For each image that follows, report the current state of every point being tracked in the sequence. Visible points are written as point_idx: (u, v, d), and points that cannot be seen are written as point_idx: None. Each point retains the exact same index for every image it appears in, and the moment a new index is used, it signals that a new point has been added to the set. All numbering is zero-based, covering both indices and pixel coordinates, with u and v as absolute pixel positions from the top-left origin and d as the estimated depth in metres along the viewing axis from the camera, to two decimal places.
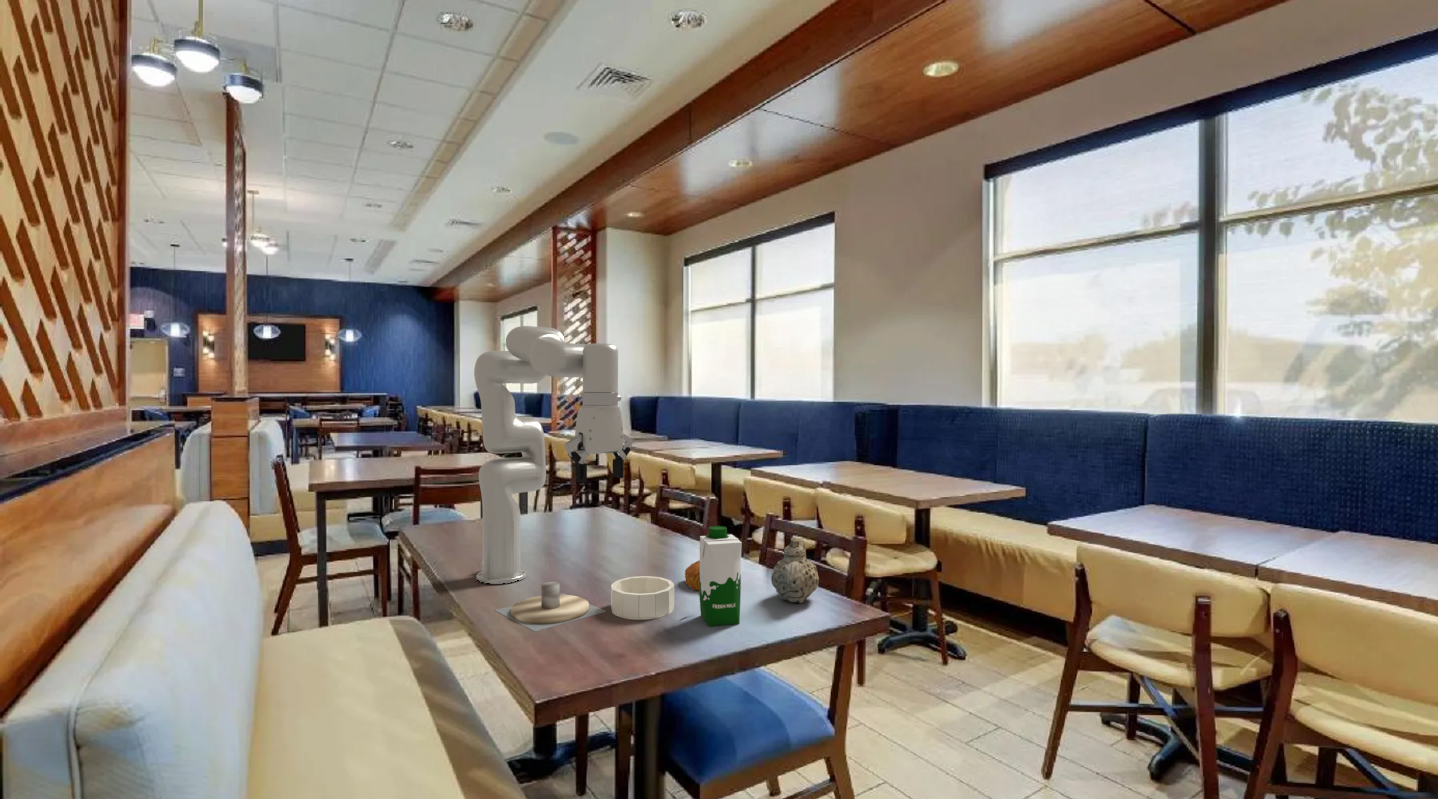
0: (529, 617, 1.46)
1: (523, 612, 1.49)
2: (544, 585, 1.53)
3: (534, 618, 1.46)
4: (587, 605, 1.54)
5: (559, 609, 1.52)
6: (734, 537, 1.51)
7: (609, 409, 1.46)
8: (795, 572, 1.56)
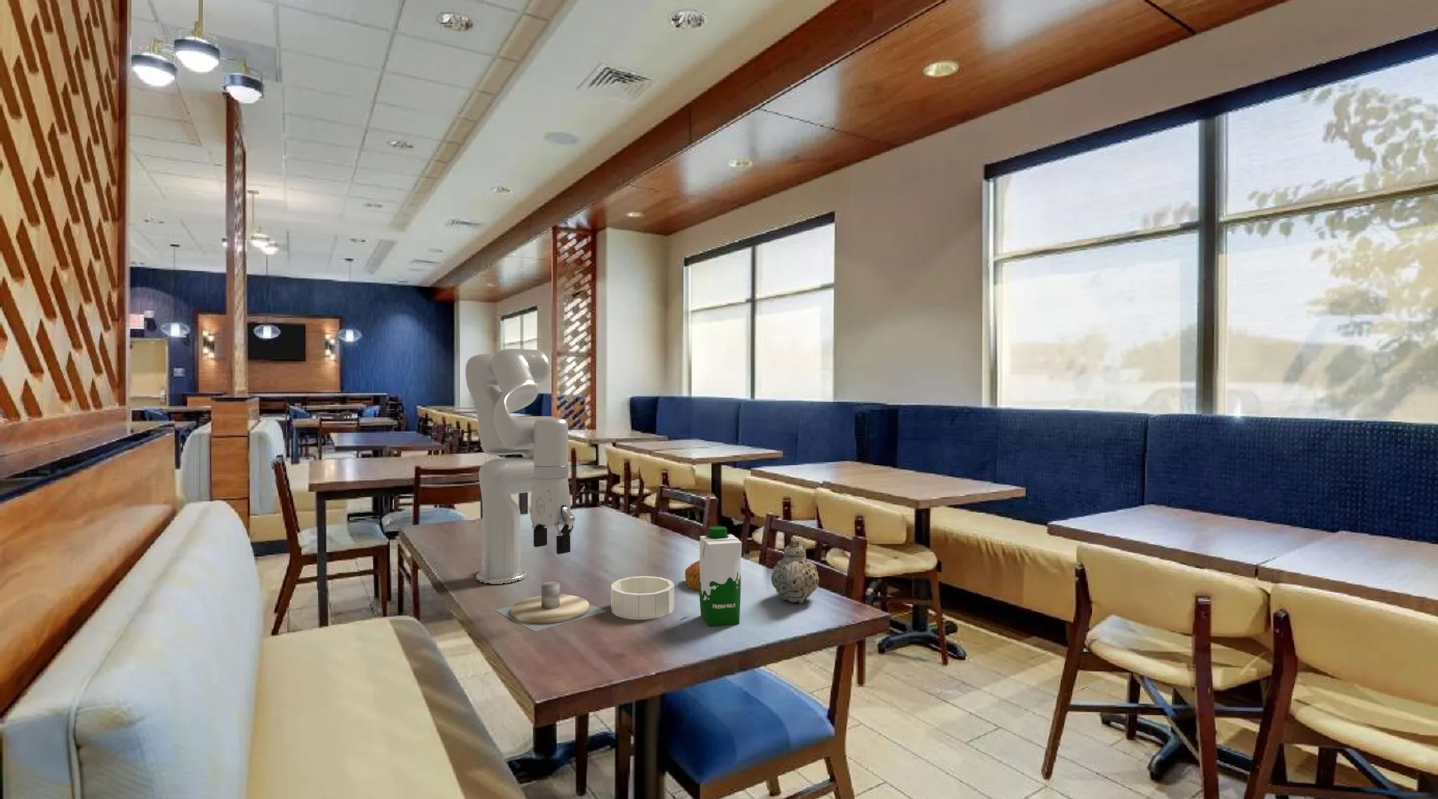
0: (529, 617, 1.46)
1: (523, 612, 1.49)
2: (544, 585, 1.53)
3: (534, 618, 1.46)
4: (587, 605, 1.54)
5: (559, 609, 1.52)
6: (734, 537, 1.51)
7: None
8: (795, 572, 1.56)
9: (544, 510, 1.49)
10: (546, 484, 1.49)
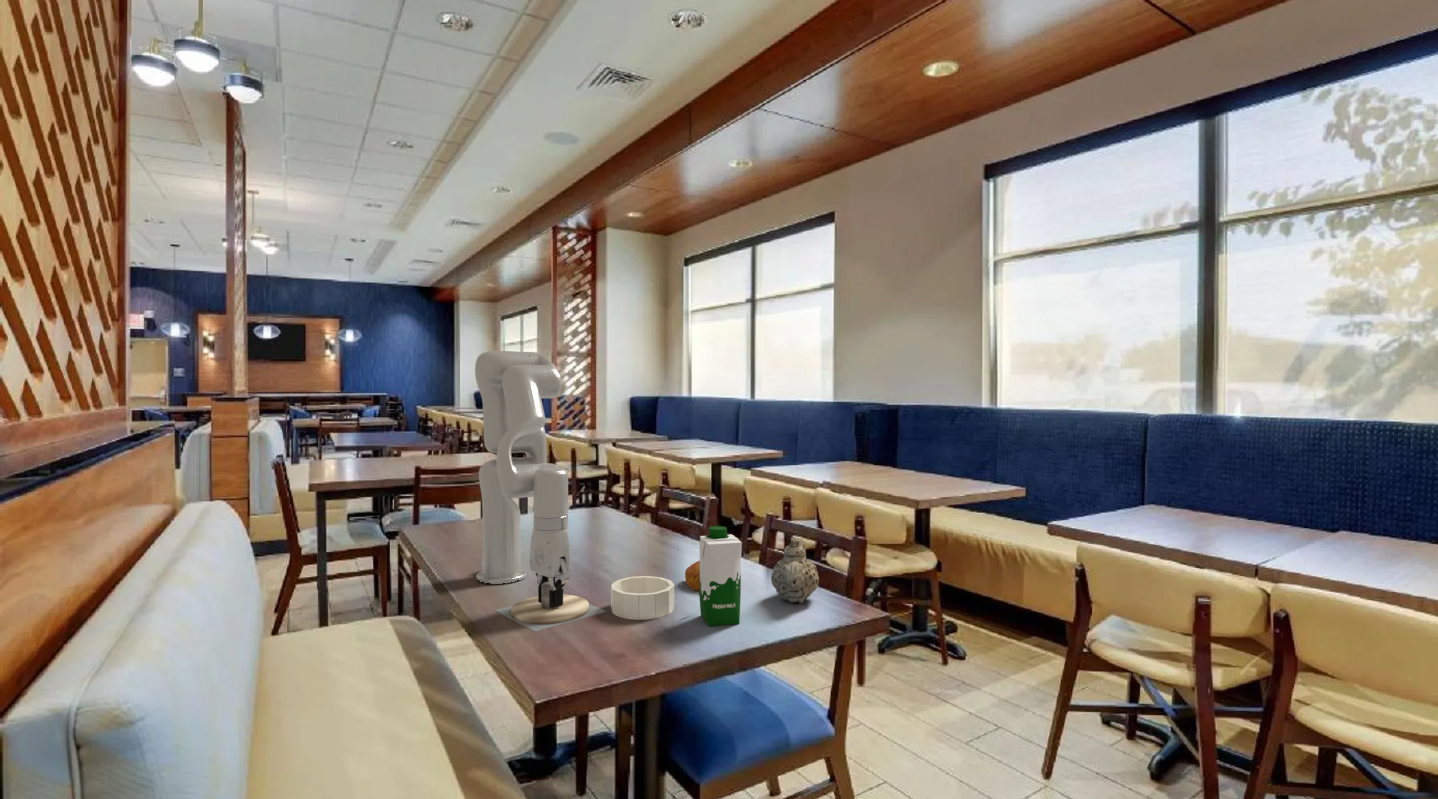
0: (529, 617, 1.46)
1: (523, 612, 1.49)
2: (544, 585, 1.53)
3: (534, 618, 1.46)
4: (587, 605, 1.54)
5: (559, 608, 1.52)
6: (734, 537, 1.51)
7: None
8: (795, 572, 1.56)
9: (543, 561, 1.50)
10: (545, 536, 1.50)
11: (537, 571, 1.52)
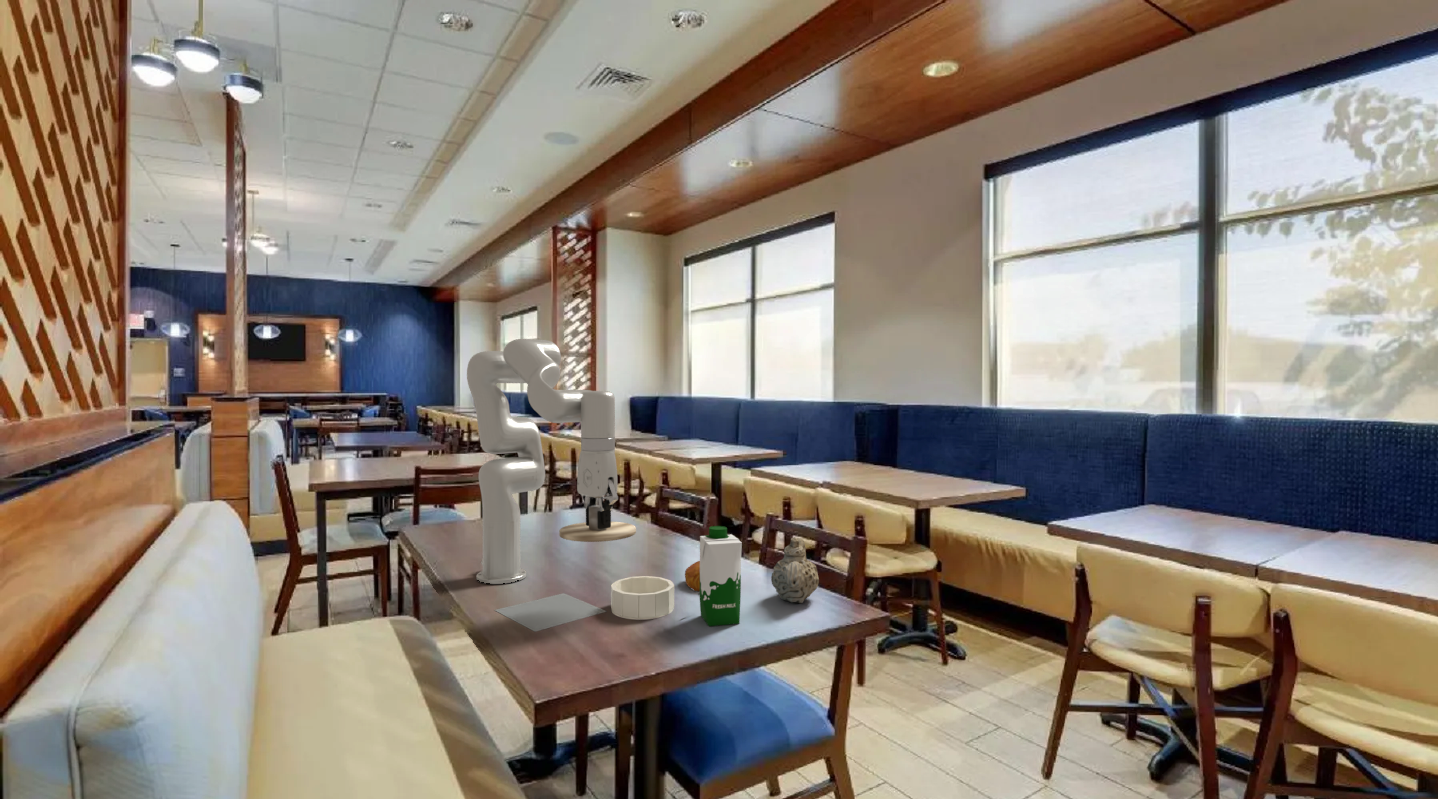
0: (578, 535, 1.47)
1: (571, 532, 1.50)
2: (591, 507, 1.53)
3: (583, 536, 1.46)
4: (634, 528, 1.54)
5: (607, 530, 1.52)
6: (734, 537, 1.51)
7: None
8: (795, 572, 1.56)
9: (591, 482, 1.50)
10: (593, 456, 1.50)
11: (585, 493, 1.52)
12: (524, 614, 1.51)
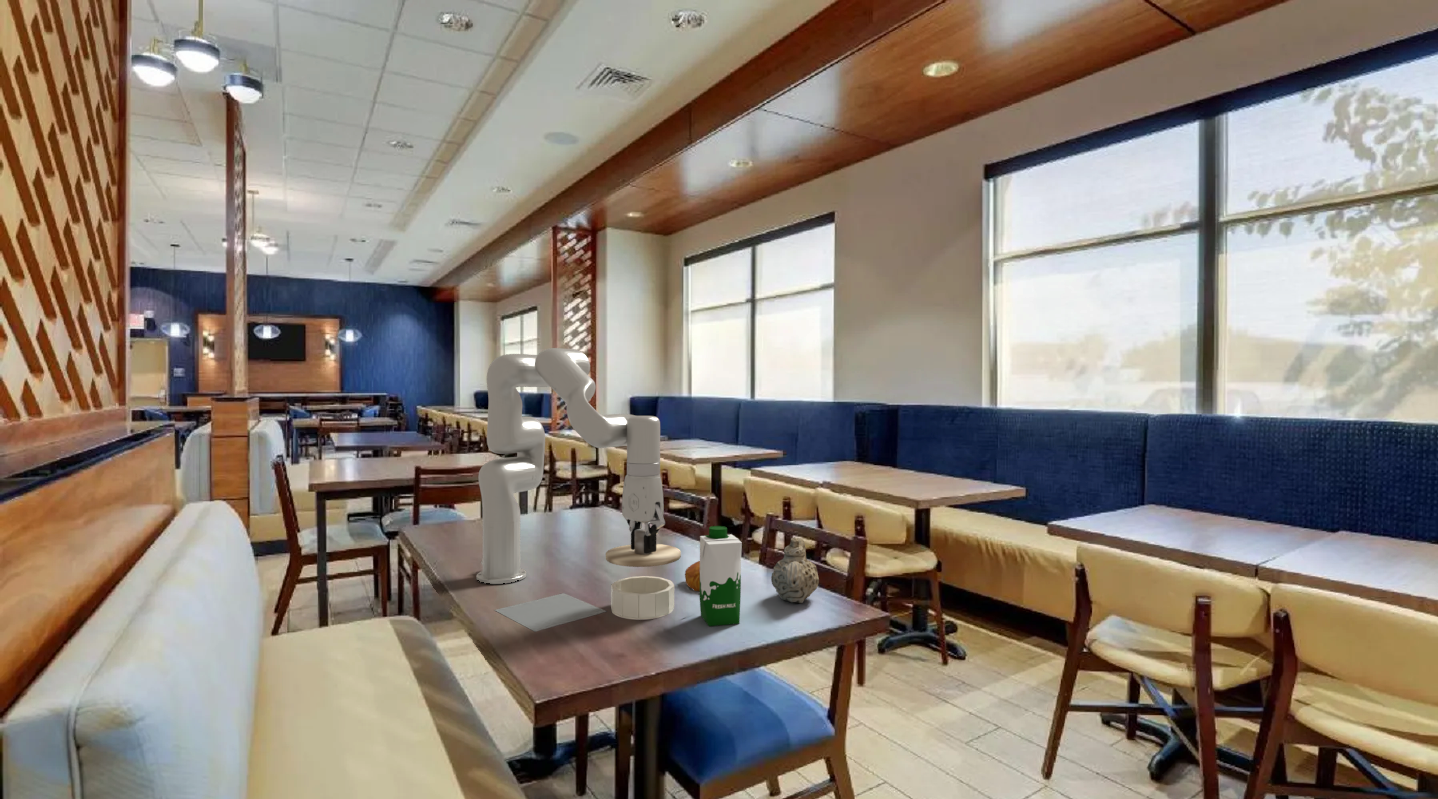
0: (627, 560, 1.48)
1: (619, 557, 1.51)
2: (637, 531, 1.54)
3: (632, 561, 1.47)
4: (679, 551, 1.56)
5: (653, 554, 1.53)
6: (734, 537, 1.51)
7: None
8: (795, 572, 1.56)
9: (638, 506, 1.52)
10: (640, 481, 1.51)
11: (631, 517, 1.54)
12: (524, 614, 1.51)
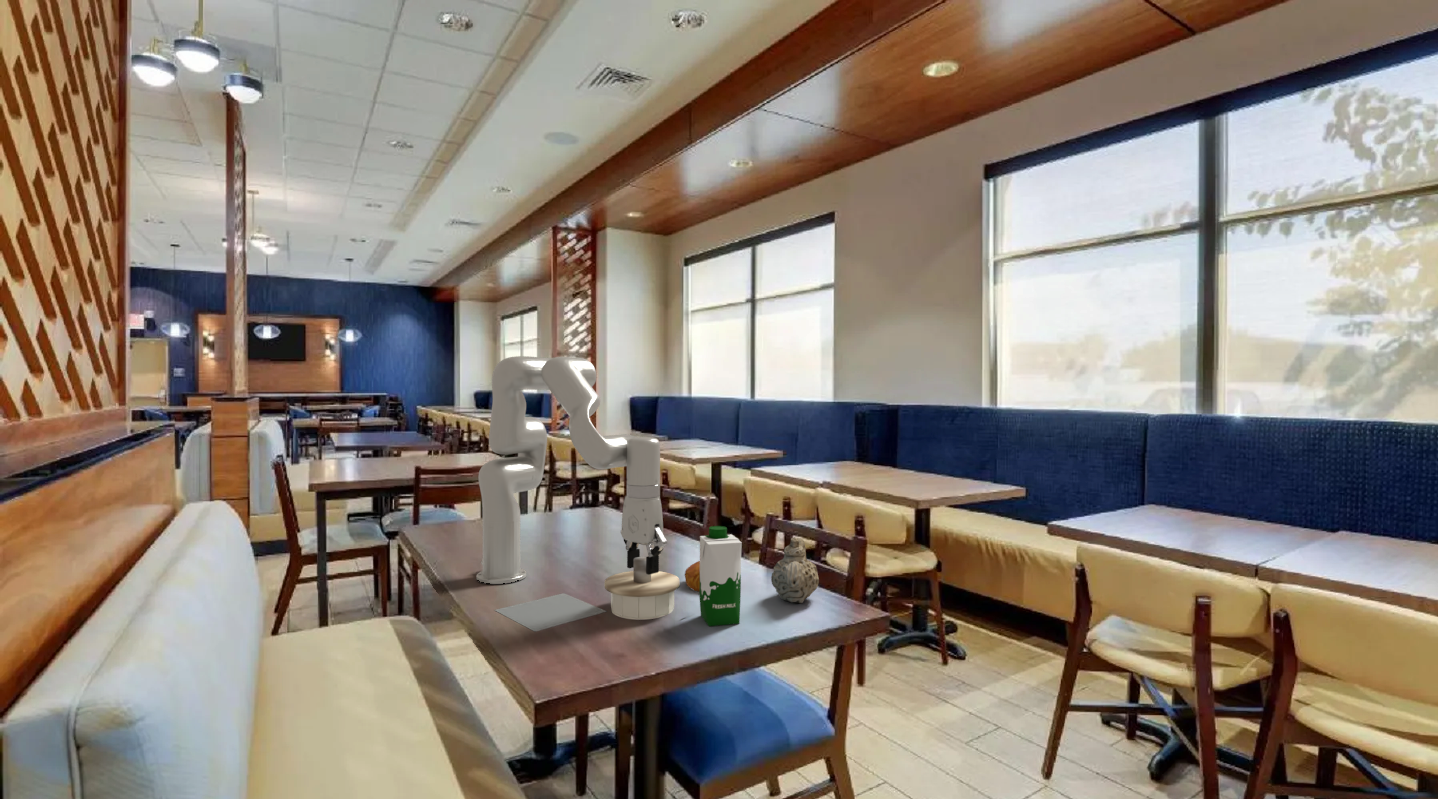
0: (626, 590, 1.48)
1: (618, 586, 1.51)
2: (636, 559, 1.55)
3: (631, 591, 1.48)
4: (678, 579, 1.56)
5: (652, 583, 1.54)
6: (734, 537, 1.51)
7: None
8: (795, 572, 1.56)
9: (638, 528, 1.52)
10: (640, 503, 1.51)
11: (630, 539, 1.54)
12: (524, 614, 1.51)
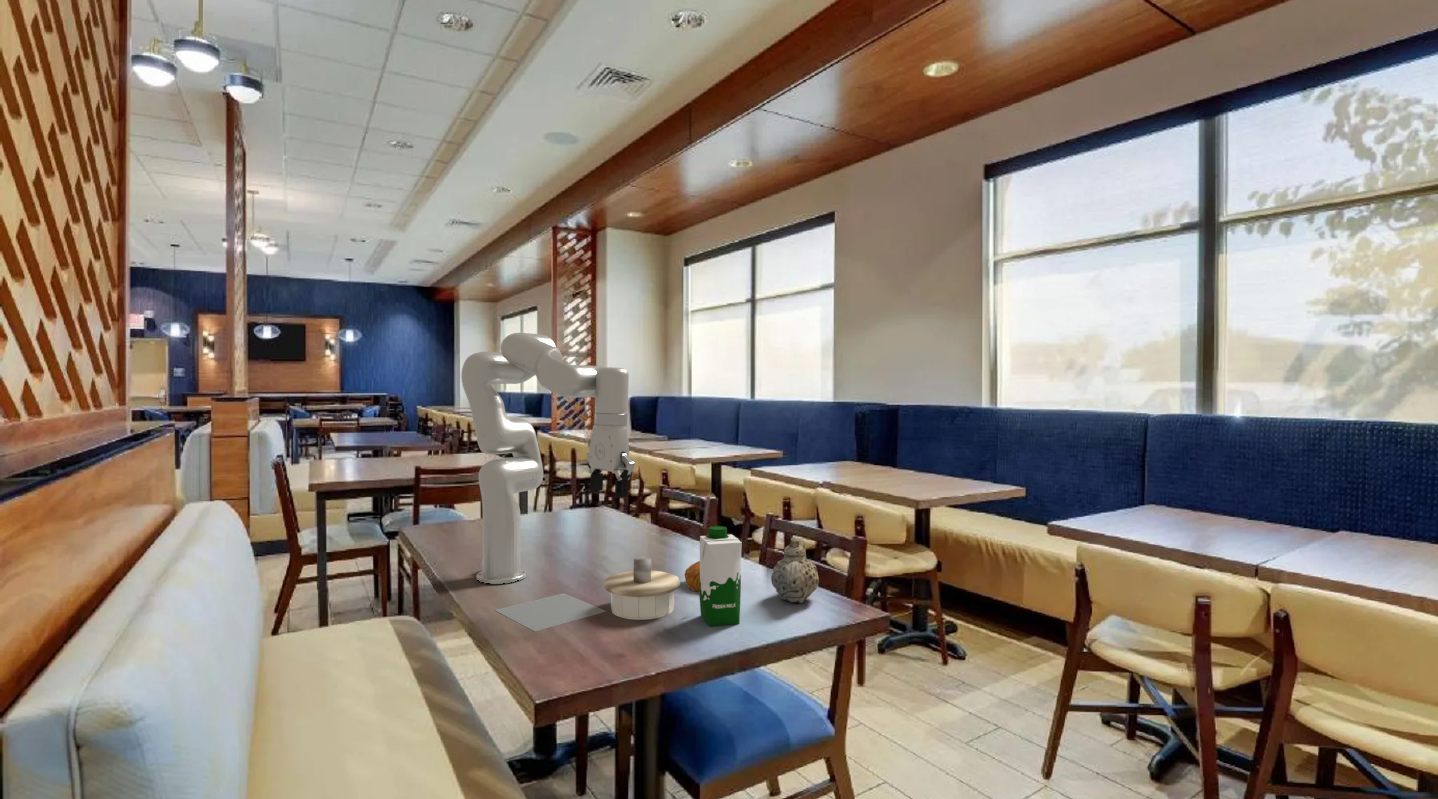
0: (626, 590, 1.48)
1: (618, 586, 1.51)
2: (636, 559, 1.55)
3: (631, 591, 1.48)
4: (678, 579, 1.56)
5: (652, 583, 1.54)
6: (734, 537, 1.51)
7: None
8: (795, 572, 1.56)
9: (604, 455, 1.55)
10: (607, 431, 1.55)
11: (597, 466, 1.57)
12: (524, 614, 1.51)
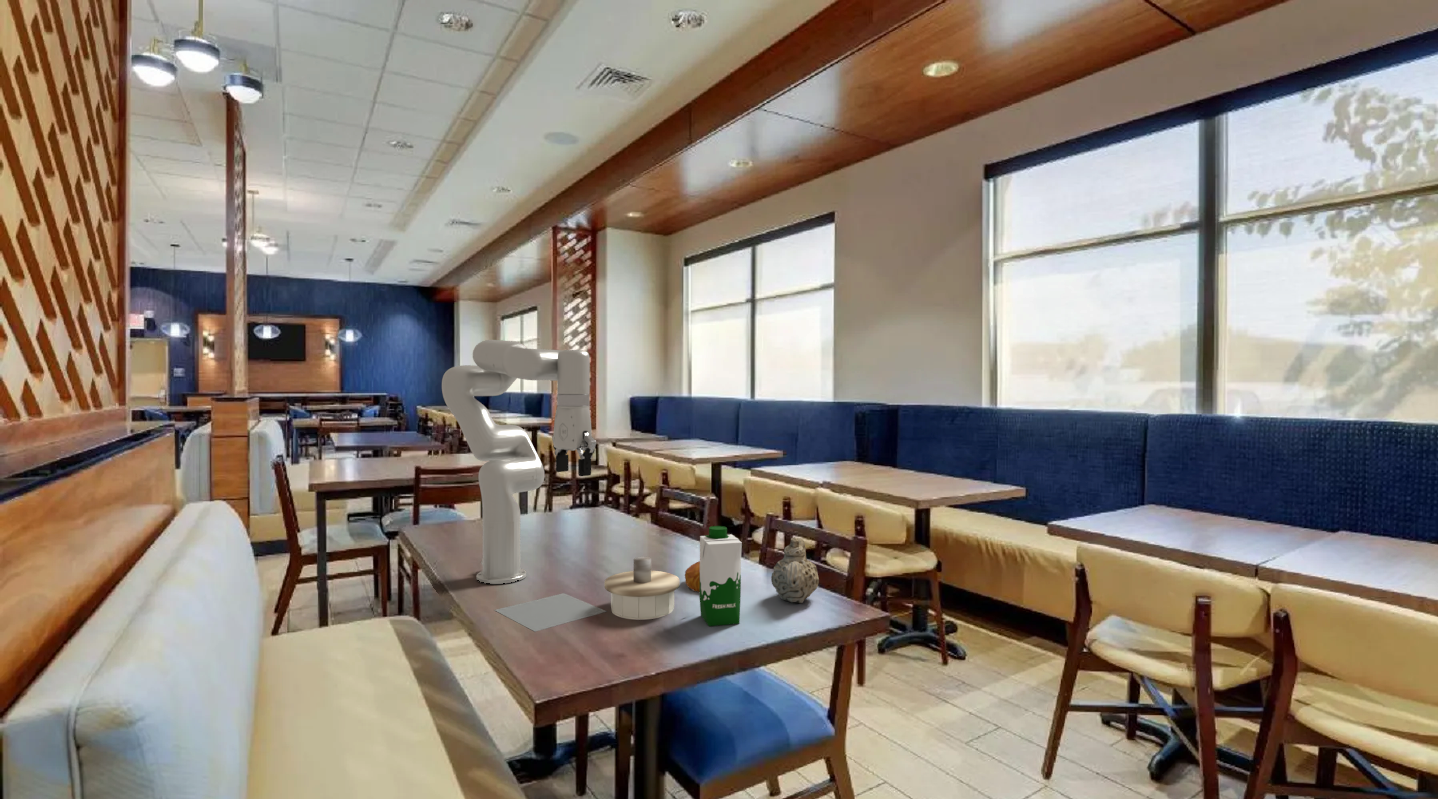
0: (626, 590, 1.48)
1: (618, 586, 1.51)
2: (636, 559, 1.55)
3: (631, 591, 1.48)
4: (678, 579, 1.56)
5: (652, 583, 1.54)
6: (734, 537, 1.51)
7: None
8: (795, 572, 1.56)
9: (567, 435, 1.59)
10: (569, 411, 1.59)
11: (561, 446, 1.61)
12: (524, 614, 1.51)
